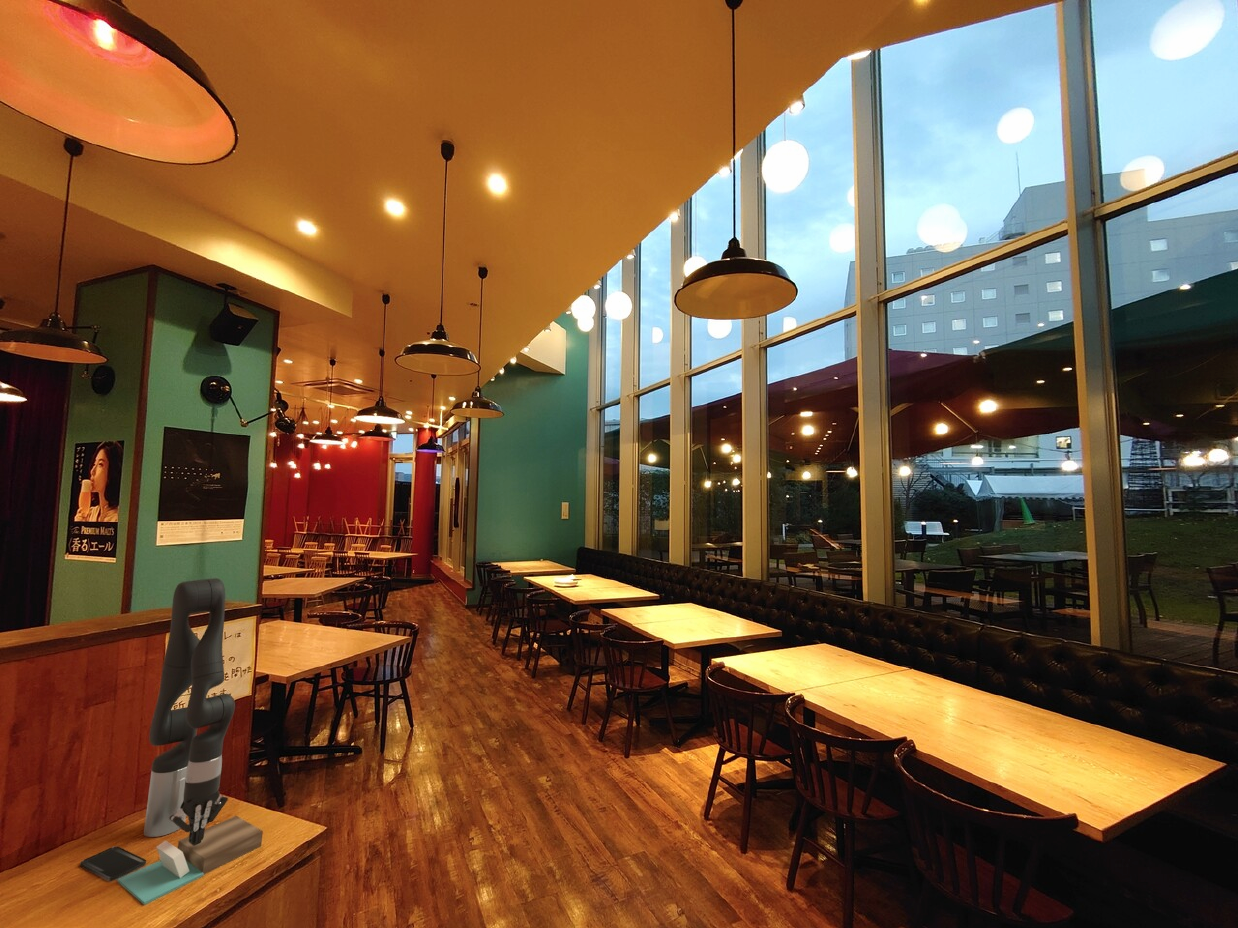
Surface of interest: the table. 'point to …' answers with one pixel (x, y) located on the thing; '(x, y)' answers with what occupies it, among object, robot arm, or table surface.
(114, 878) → the phone
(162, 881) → the mat
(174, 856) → the white rectangular block
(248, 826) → the block
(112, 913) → the table surface
